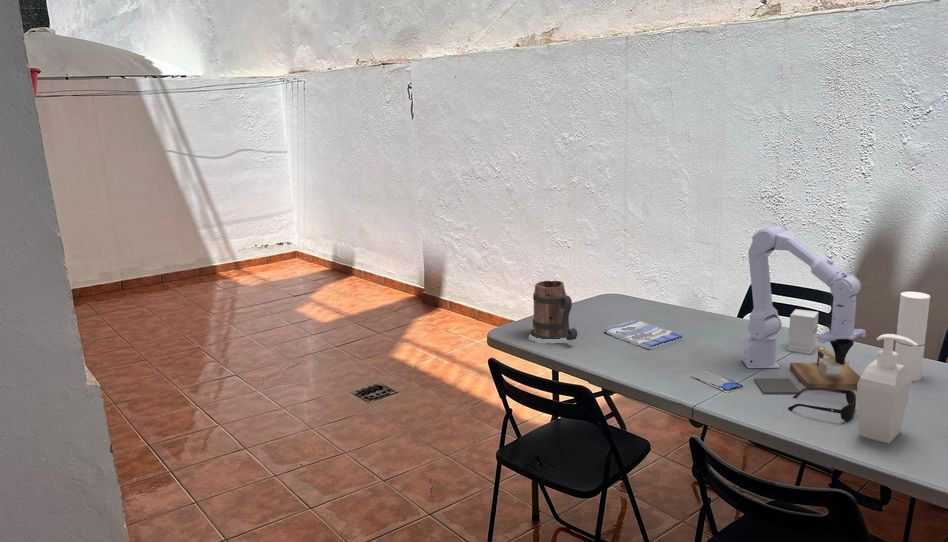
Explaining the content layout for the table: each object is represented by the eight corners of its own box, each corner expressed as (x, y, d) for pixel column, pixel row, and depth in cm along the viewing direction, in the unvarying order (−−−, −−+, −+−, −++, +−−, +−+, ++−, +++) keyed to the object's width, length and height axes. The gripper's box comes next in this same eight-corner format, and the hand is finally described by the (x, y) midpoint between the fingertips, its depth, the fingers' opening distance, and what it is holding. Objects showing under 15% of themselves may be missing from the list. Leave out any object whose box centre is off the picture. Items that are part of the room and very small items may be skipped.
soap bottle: (898, 450, 165) (909, 347, 158) (852, 437, 172) (861, 338, 166) (914, 432, 173) (925, 333, 166) (870, 420, 180) (879, 325, 174)
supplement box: (811, 354, 225) (814, 317, 222) (787, 350, 229) (789, 314, 226) (816, 347, 231) (819, 311, 228) (792, 344, 235) (795, 308, 232)
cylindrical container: (919, 373, 207) (928, 292, 201) (922, 382, 200) (931, 299, 194) (891, 370, 210) (899, 290, 204) (893, 379, 203) (902, 297, 197)
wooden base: (807, 389, 199) (809, 370, 198) (789, 368, 215) (791, 350, 213) (867, 390, 197) (868, 370, 196) (844, 368, 213) (846, 349, 211)
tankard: (518, 334, 258) (517, 282, 253) (556, 325, 266) (555, 275, 261) (554, 353, 238) (553, 296, 233) (594, 343, 245) (594, 288, 241)
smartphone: (707, 372, 216) (707, 368, 216) (745, 388, 203) (745, 385, 203) (689, 377, 213) (689, 374, 213) (726, 394, 200) (726, 391, 200)
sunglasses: (852, 426, 178) (854, 408, 176) (785, 414, 186) (786, 397, 185) (856, 406, 189) (858, 389, 188) (793, 395, 197) (794, 379, 196)
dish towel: (637, 324, 264) (637, 317, 263) (684, 341, 244) (684, 333, 244) (602, 334, 256) (602, 327, 255) (648, 352, 236) (648, 344, 235)
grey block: (825, 378, 202) (826, 365, 201) (818, 370, 207) (819, 358, 206) (840, 378, 201) (841, 365, 200) (832, 370, 207) (833, 358, 206)
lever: (815, 350, 211) (815, 346, 211) (822, 349, 211) (822, 346, 211) (843, 366, 198) (843, 363, 198) (850, 366, 198) (850, 362, 198)
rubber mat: (763, 394, 198) (763, 392, 198) (753, 380, 208) (754, 378, 208) (800, 394, 197) (800, 392, 197) (789, 380, 206) (789, 378, 206)
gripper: (832, 325, 191) (828, 371, 194) (875, 318, 195) (871, 364, 198) (813, 318, 198) (810, 362, 201) (856, 312, 201) (852, 356, 204)
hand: (839, 363), depth 200 cm, fingers closed, pressing on lever
